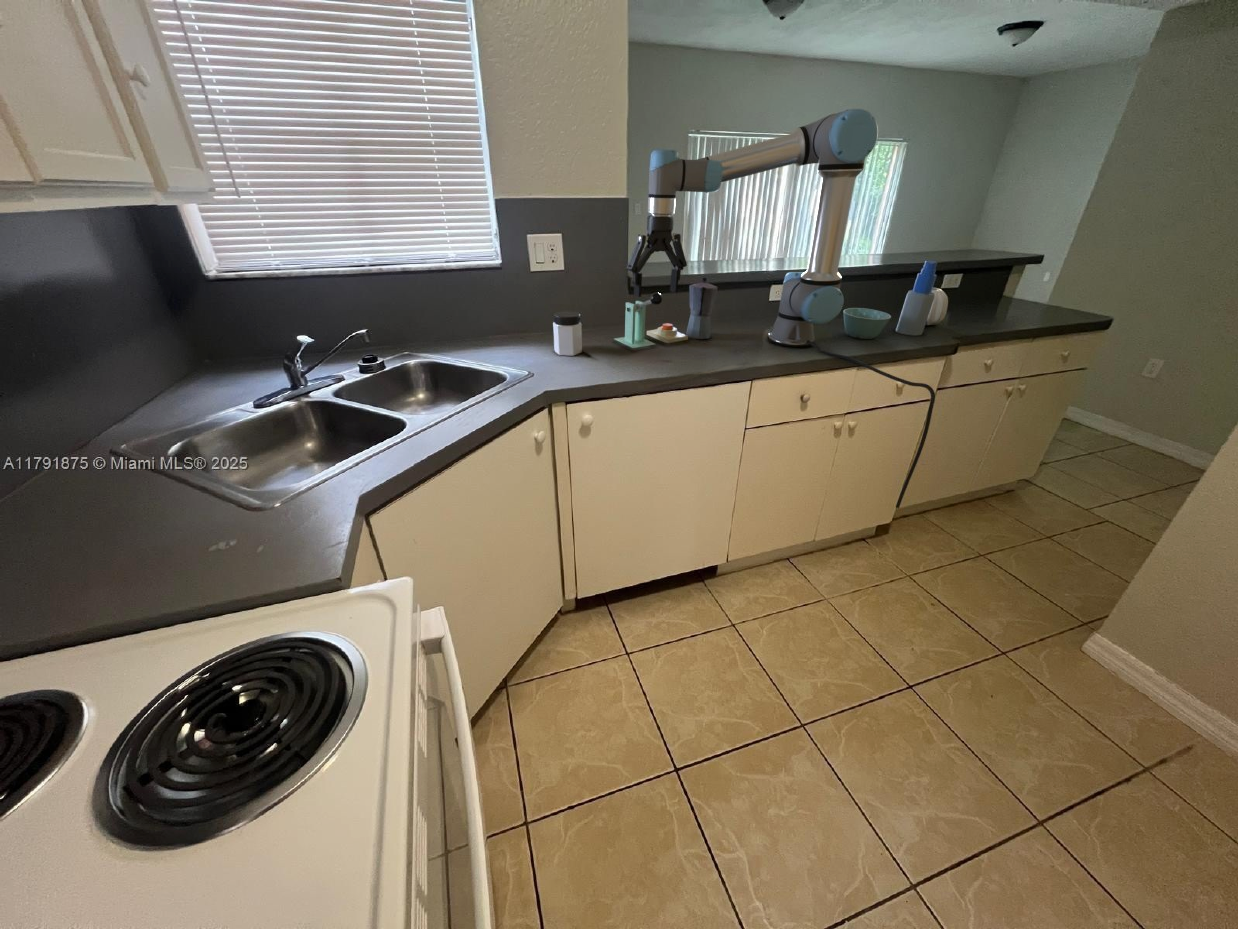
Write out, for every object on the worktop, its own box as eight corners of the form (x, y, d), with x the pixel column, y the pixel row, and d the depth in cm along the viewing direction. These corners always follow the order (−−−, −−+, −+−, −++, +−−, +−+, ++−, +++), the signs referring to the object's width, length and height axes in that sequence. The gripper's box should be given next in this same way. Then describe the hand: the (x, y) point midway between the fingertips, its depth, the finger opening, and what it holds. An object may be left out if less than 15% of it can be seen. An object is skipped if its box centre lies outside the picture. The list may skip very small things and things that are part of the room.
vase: (911, 317, 204) (922, 283, 197) (947, 324, 195) (959, 289, 188) (896, 322, 196) (907, 287, 190) (933, 329, 187) (945, 293, 180)
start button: (674, 330, 167) (675, 325, 166) (666, 331, 165) (666, 326, 164) (668, 327, 170) (668, 322, 169) (660, 329, 168) (660, 323, 167)
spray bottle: (897, 327, 189) (918, 258, 176) (923, 331, 185) (946, 261, 172) (894, 332, 182) (916, 261, 170) (921, 336, 178) (945, 264, 166)
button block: (687, 342, 167) (688, 331, 165) (666, 346, 163) (667, 334, 161) (666, 334, 176) (667, 322, 174) (646, 337, 172) (646, 326, 170)
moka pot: (710, 332, 179) (717, 274, 169) (713, 344, 166) (720, 283, 156) (684, 330, 180) (689, 273, 170) (685, 343, 167) (690, 281, 156)
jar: (585, 354, 154) (584, 316, 148) (561, 357, 151) (559, 318, 145) (575, 346, 161) (574, 309, 155) (551, 349, 158) (549, 311, 152)
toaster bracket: (655, 347, 162) (657, 304, 155) (633, 351, 158) (634, 308, 150) (635, 338, 170) (636, 297, 163) (613, 342, 166) (614, 300, 159)
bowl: (893, 337, 176) (900, 314, 172) (868, 344, 169) (875, 320, 164) (854, 327, 187) (860, 306, 183) (829, 333, 180) (834, 311, 176)
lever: (665, 302, 147) (663, 290, 146) (656, 303, 145) (653, 291, 145) (638, 314, 160) (636, 303, 160) (629, 315, 158) (627, 304, 158)
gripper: (686, 213, 144) (680, 288, 155) (616, 214, 133) (614, 295, 143) (703, 215, 139) (695, 292, 150) (631, 216, 127) (628, 300, 138)
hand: (655, 294), depth 147 cm, fingers open, 13 cm apart
